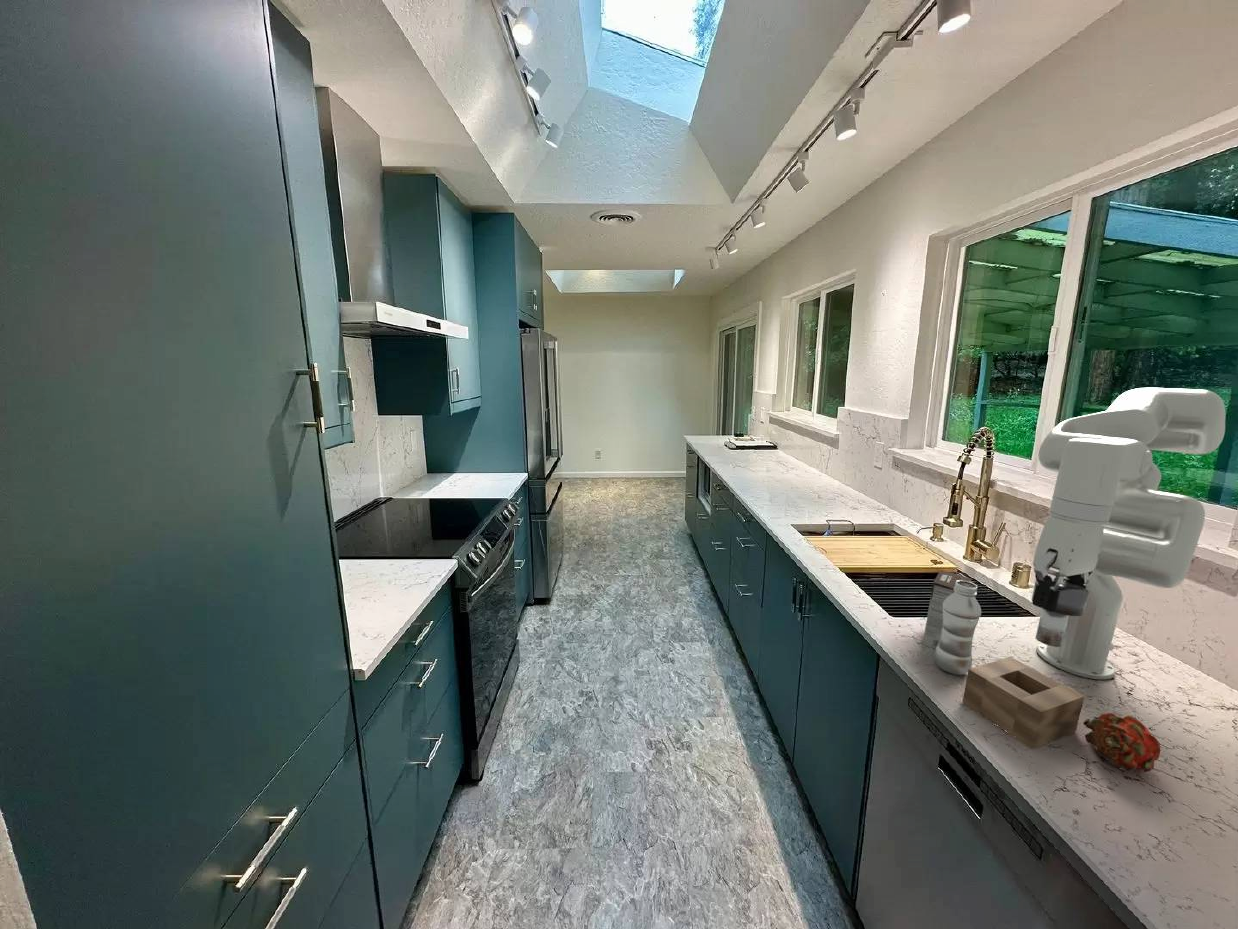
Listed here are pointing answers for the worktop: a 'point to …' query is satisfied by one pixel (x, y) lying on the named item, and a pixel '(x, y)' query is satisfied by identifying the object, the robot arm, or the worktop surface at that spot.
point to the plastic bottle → (958, 629)
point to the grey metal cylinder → (1061, 613)
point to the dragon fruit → (1123, 742)
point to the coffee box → (939, 606)
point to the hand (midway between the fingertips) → (1056, 604)
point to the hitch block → (1023, 701)
